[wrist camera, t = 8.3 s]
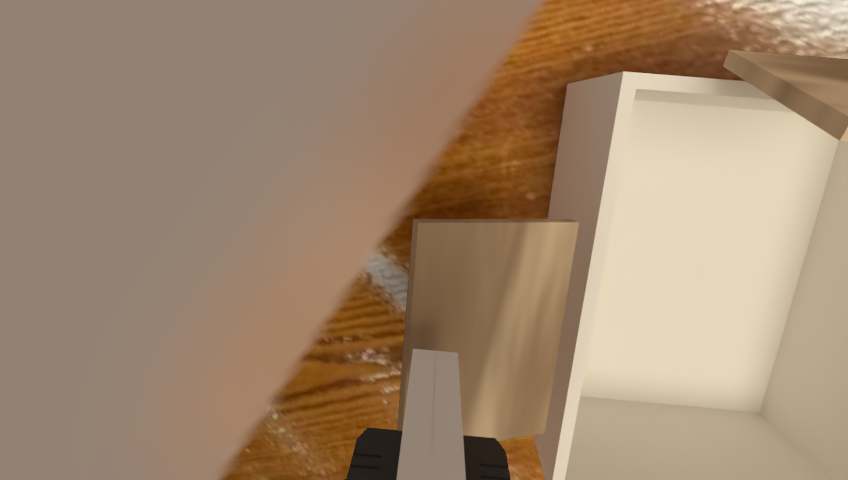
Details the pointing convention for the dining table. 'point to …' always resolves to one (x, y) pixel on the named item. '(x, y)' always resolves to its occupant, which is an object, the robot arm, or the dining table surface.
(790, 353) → the carton
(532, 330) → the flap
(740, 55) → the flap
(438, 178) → the dining table surface
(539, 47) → the dining table surface
